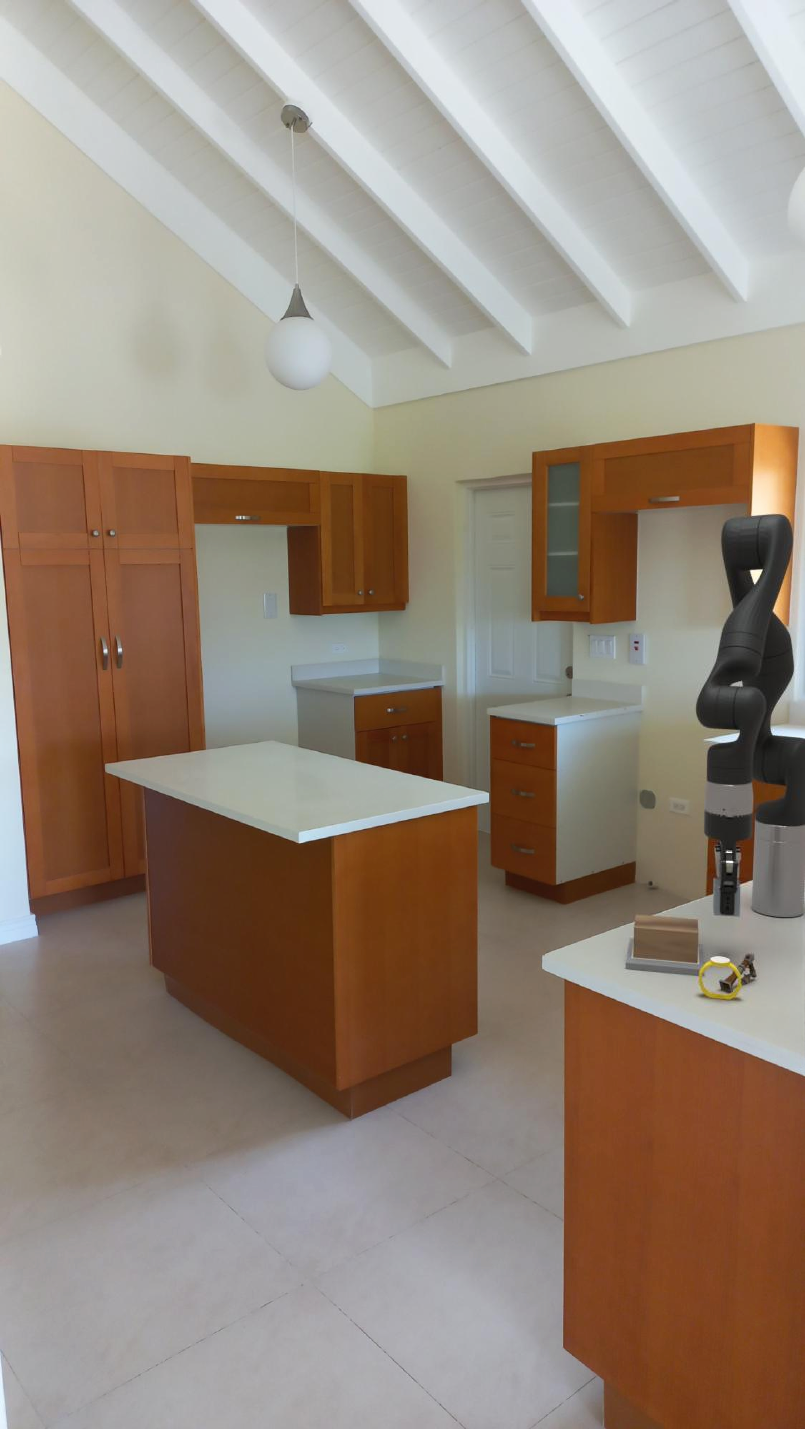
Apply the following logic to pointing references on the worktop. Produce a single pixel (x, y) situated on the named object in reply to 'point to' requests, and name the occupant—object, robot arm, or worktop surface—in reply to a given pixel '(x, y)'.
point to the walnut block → (666, 938)
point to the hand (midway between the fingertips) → (726, 909)
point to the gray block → (717, 898)
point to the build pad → (664, 963)
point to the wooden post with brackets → (741, 967)
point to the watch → (720, 962)
